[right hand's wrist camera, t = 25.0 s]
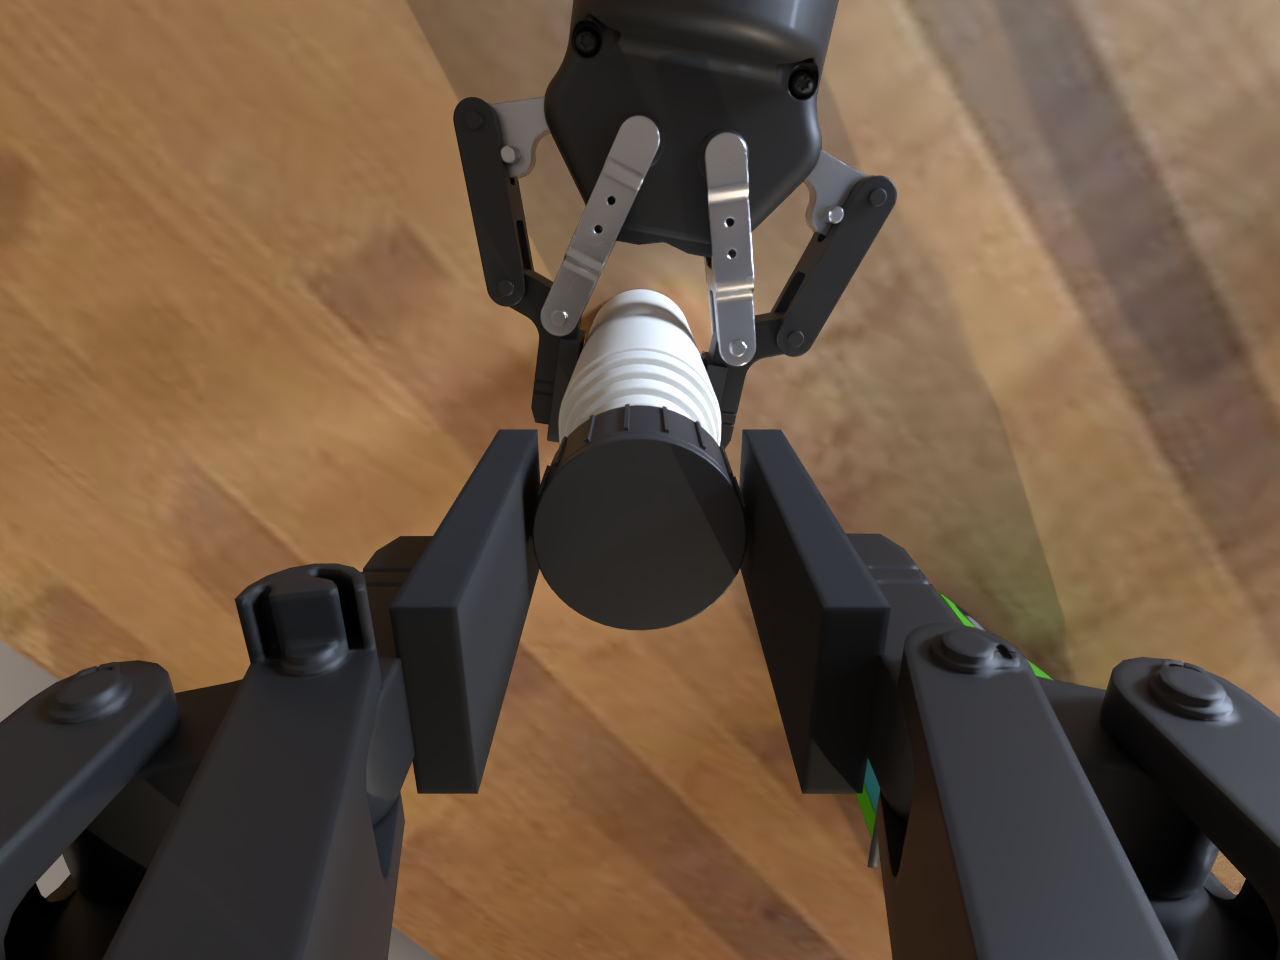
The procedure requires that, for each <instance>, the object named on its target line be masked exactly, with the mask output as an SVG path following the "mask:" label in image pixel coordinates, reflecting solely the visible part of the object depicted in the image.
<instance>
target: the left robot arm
mask: <svg viewBox="0 0 1280 960" xmlns="http://www.w3.org/2000/svg"><path fill="white" fill-rule="evenodd" d="M838 1H839V0H573V9H572V17H571V26H570V35H569V42H568V47H567V51H566V54H565V57H564V60H563V62H562V64H561V66H560V68H559V70H558V72H557V73H556V74H555V76H554V77H553V79H552V80H551V82H550V83H549V85H548V88H547V90H546V93H545V97H539V98H532V99H525V100H518V101H511V102H504V103H497V104H488V103H486V102H485V101H483V100H481V99H479V98H476V97H469V98H465V99H463V100H462V101H461V102H459V104H458V105H457V106H456V108H455V111H454V116H453V120H454V126H455V131H456V136H457V141H458V146H459V151H460V156H461V161H462V166H463V171H464V176H465V181H466V186H467V191H468V196H469V201H470V206H471V211H472V216H473V221H474V226H475V231H476V236H477V241H478V246H479V251H480V256H481V261H482V266H483V271H484V276H485V281H486V286H487V291H488V294H489V296H490V297H491V299H492V300H493V301H494V302H495V303H497V304H499V305H501V306H509V307H511V308H512V309H514V310H516V311H518V312H520V313H521V314H523V315H525V316H527V317H528V318H529V319H531V320H532V321H533V323H534V324H535V325H536V327H537V329H538V332H539V347H538V356H537V364H536V373H535V381H534V391H533V398H532V407H531V408H532V412H533V415H534V419H535V422H536V423H542V424H548V425H549V427H548V436H547V441H552V442H559V424H558V422H559V412H560V407H561V403H562V400H563V397H564V395H565V392H566V390H567V387H568V384H569V382H570V379H571V377H572V374H573V372H574V369H575V367H576V364H577V362H578V359H579V357H580V354H581V351H582V349H583V344H584V337H585V331H583V330H580V324H581V317H582V313H583V311H584V309H585V307H586V305H587V303H588V300H589V298H590V296H591V294H592V292H593V290H594V288H595V285H596V283H597V281H598V279H599V277H600V275H601V272H602V270H603V268H604V266H605V264H606V262H607V260H608V258H609V255H610V253H611V251H612V249H613V247H614V245H615V242H616V241H621V242H627V243H632V244H638V245H640V244H650V243H660V242H665V243H668V244H670V245H672V246H674V247H676V248H678V249H680V250H682V251H684V252H686V253H688V254H694V255H699V256H704V262H705V273H706V281H707V287H708V294H709V305H710V316H711V327H712V339H711V344H710V349H709V352H703V351H702V356H701V359H702V362H703V365H704V367H705V370H706V372H707V375H708V377H709V380H710V383H711V385H712V388H713V390H714V393H715V395H716V398H717V401H718V404H719V408H720V414H721V441H720V446H721V445H722V446H723V448H724V449H725V448H726V446H727V445H728V444H729V442H730V441H731V436H732V432H733V427H734V423H735V419H736V413H737V410H738V406H739V401H740V397H741V392H742V388H743V384H744V379H745V375H746V373H747V371H748V369H749V367H750V366H751V365H752V364H753V363H754V362H756V361H758V360H760V359H762V358H766V357H772V356H777V355H783V354H785V355H787V356H791V357H797V356H800V355H803V354H804V353H806V352H807V351H808V350H809V349H810V347H811V346H812V344H813V343H814V341H815V339H816V337H817V336H818V334H819V332H820V331H821V329H822V327H823V326H824V324H825V322H826V320H827V319H828V317H829V315H830V314H831V312H832V310H833V309H834V307H835V305H836V303H837V302H838V300H839V298H840V297H841V295H842V293H843V292H844V290H845V288H846V286H847V285H848V283H849V281H850V280H851V278H852V276H853V275H854V273H855V271H856V269H857V268H858V266H859V264H860V263H861V261H862V259H863V258H864V256H865V254H866V252H867V251H868V249H869V247H870V246H871V244H872V242H873V241H874V239H875V237H876V235H877V234H878V232H879V230H880V229H881V227H882V225H883V224H884V222H885V220H886V219H887V217H888V215H889V213H890V212H891V210H892V208H893V207H894V205H895V202H896V198H897V191H896V187H895V185H894V183H893V182H892V181H891V180H890V179H889V178H887V177H884V176H867V175H864V174H862V173H861V172H859V171H857V170H855V169H854V168H852V167H850V166H849V165H847V164H845V163H843V162H842V161H840V160H838V159H836V158H835V157H833V156H831V155H830V154H828V153H826V152H824V151H823V150H821V148H822V137H821V131H820V128H819V124H818V119H817V109H816V101H817V93H818V87H819V83H820V79H821V74H822V70H823V66H824V61H825V57H826V53H827V48H828V44H829V40H830V35H831V31H832V27H833V23H834V18H835V14H836V10H837V5H838ZM550 133H551V134H552V137H553V139H554V141H555V143H556V145H557V147H558V149H559V151H560V153H561V155H562V157H563V159H564V161H565V163H566V165H567V167H568V169H569V172H570V174H571V176H572V178H573V180H574V182H575V184H576V186H577V188H578V190H579V192H580V194H581V196H582V198H583V200H584V202H585V205H586V208H585V210H584V212H583V215H582V217H581V219H580V221H579V224H578V226H577V228H576V230H575V233H574V235H573V237H572V240H571V242H570V244H569V246H568V249H567V251H566V254H565V257H564V260H563V262H562V265H561V267H560V269H559V272H558V274H557V276H556V278H555V281H554V282H552V281H551V280H549V279H547V278H545V277H544V276H542V275H540V274H538V273H537V272H535V271H534V268H533V262H532V257H531V251H530V245H529V240H528V234H527V228H526V222H525V217H524V211H523V205H522V199H521V194H520V188H519V182H518V178H522V177H525V176H527V175H528V174H529V173H530V172H531V171H532V170H533V168H534V166H535V161H536V154H535V153H536V147H537V145H538V142H539V141H540V140H541V139H542V138H543V137H544V136H545V135H547V134H550ZM802 182H804V183H805V184H806V186H807V187H808V189H809V193H810V201H809V205H808V207H807V210H806V222H807V225H808V226H809V228H810V229H811V230H812V231H814V232H815V233H814V235H813V237H812V239H811V240H810V242H809V244H808V246H807V248H806V249H805V251H804V253H803V255H802V256H801V258H800V260H799V262H798V264H797V265H796V267H795V269H794V271H793V273H792V274H791V276H790V278H789V280H788V282H787V283H786V285H785V287H784V289H783V291H782V292H781V294H780V296H779V298H778V300H777V301H776V303H775V305H774V307H773V309H772V310H771V312H770V313H766V314H761V315H755V316H754V306H753V290H754V272H753V257H752V241H751V232H752V231H753V230H754V229H755V228H756V227H757V226H758V225H759V224H760V223H761V222H762V221H763V220H764V219H765V218H766V217H767V216H768V215H769V214H770V213H772V212H773V211H774V210H775V209H776V208H777V207H778V206H779V205H780V204H781V203H782V202H783V201H784V200H785V199H786V198H787V197H788V196H789V195H790V194H791V193H792V192H793V191H794V190H795V189H796V188H797V187H798V186H799V185H800V184H801V183H802ZM720 446H719V447H720Z"/></svg>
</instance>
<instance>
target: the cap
mask: <svg viewBox="0 0 1280 960" xmlns="http://www.w3.org/2000/svg"><path fill="white" fill-rule="evenodd" d="M536 498H537V499H539V501H538V504H537V507H536V511H535V514H534V520H533V528H532V536H533V547H534V553H535V557H536V560H537V563H538V566H539V568H540V570H541V572H542V574H543V576H544V578H545V580H546V581H547V583H548V584H549V586H550V587H551V589H552V590H553V591H554V592H555V593H556V594H557V596H558V597H559V598H560V599H561V600H562V601H564V602H565V603H566V604H567V605H568V606H569V607H571V608H572V609H573V610H575V611H576V612H578V613H579V614H581V615H583V616H585V617H587V618H589V619H590V620H593V621H595V622H598V623H600V624H603V625H607V626H610V627H614V628H619V629H626V630H653V629H660V628H665V627H670V626H673V625H676V624H679V623H682V622H684V621H686V620H689V619H691V618H693V617H695V616H697V615H698V614H700V613H702V612H703V611H705V610H706V609H707V608H709V607H710V606H711V605H713V604H714V603H715V602H716V601H717V600H718V599H719V598H720V597H721V596H722V595H723V594H724V593H725V591H726V590H727V589H728V588H729V586H730V585H731V584H732V582H733V580H734V579H735V577H736V575H737V573H738V571H739V569H740V566H741V564H742V561H743V558H744V554H745V550H746V542H747V523H746V518H745V513H744V511H745V510H746V506H745V503H744V500H743V497H742V495H741V492H740V489H739V486H738V483H737V480H736V477H735V476H734V477H733V473H732V470H731V468H730V465H729V462H728V459H727V456H726V453H725V450H724V448H723V446H722V445H721V446H720V447H719V445H718V444H717V442H716V441H715V440H714V438H713V437H712V436H711V435H710V434H709V433H708V432H707V431H706V430H705V429H704V428H702V427H701V425H700V422H698V421H696V422H694V421H693V420H691V419H689V418H688V417H686V416H684V415H682V414H679V413H677V412H675V411H672V410H668V409H667V407H665V406H662V408H661V407H655V406H646V405H634V406H630V404H625V406H623V407H619V408H615V409H611V410H608V411H605V412H602V413H600V414H598V415H596V416H594V414H593V415H591V416H590V418H589V419H588V420H587V421H585V422H584V423H582V424H581V425H579V426H578V427H577V428H576V429H575V430H574V431H573V432H572V433H571V434H569V436H568V437H566V436H564V437H563V439H562V442H561V445H560V447H559V449H558V451H557V452H556V454H555V456H554V458H553V461H552V463H551V465H550V466H548V465H547V468H546V470H545V473H544V476H543V479H542V482H541V485H540V487H539V490H538V493H537V496H536Z"/></svg>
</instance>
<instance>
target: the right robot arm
mask: <svg viewBox="0 0 1280 960" xmlns="http://www.w3.org/2000/svg"><path fill="white" fill-rule="evenodd" d="M539 487H540V469H539V452H538V434H537V430H499V431H498V432H497V434H496V436H495V437H494V439H493V440H492V442H491V444H490V445H489V447H488V448H487V450H486V452H485V453H484V455H483V457H482V458H481V460H480V461H479V463H478V465H477V466H476V468H475V469H474V471H473V473H472V474H471V476H470V478H469V479H468V481H467V482H466V484H465V486H464V487H463V489H462V490H461V492H460V494H459V495H458V497H457V498H456V500H455V502H454V503H453V505H452V507H451V508H450V510H449V511H448V513H447V515H446V516H445V518H444V519H443V521H442V523H441V524H440V526H439V527H438V529H437V531H436V532H435V534H434V536H400V537H398V538H397V539H395V540H393V541H392V542H390V543H389V544H387V545H385V546H384V547H382V548H380V549H379V550H377V551H376V552H375V553H374V555H373V556H372V557H371V559H370V560H369V561H368V563H367V564H366V565H365V567H364V568H363V572H359V571H358V570H357V569H355V568H354V567H349V566H345V565H341V564H310V565H304V566H299V567H293V568H289V569H286V570H283V571H280V572H277V573H274V574H271V575H268V576H266V577H264V578H262V579H260V580H258V581H257V582H255V583H253V584H251V585H249V586H248V587H246V588H245V589H244V590H243V591H242V592H241V593H240V594H239V595H238V596H237V597H236V598H235V602H236V606H237V610H238V614H239V618H240V622H241V626H242V630H243V634H244V638H245V642H246V646H247V650H248V654H249V658H250V662H251V664H250V666H249V668H248V670H247V672H246V674H245V676H244V678H243V679H242V680H238V681H234V682H230V683H225V684H220V685H215V686H210V687H205V688H200V689H195V690H189V691H184V692H179V693H174V690H173V687H172V684H171V680H170V677H169V674H168V672H167V671H166V670H165V669H164V668H162V667H161V666H160V665H159V664H157V663H151V662H145V661H139V660H137V661H126V662H112V663H107V664H102V665H100V666H99V667H97V666H94V667H91V668H88V669H84V670H82V671H79V672H78V673H77V674H75V675H73V676H70V677H68V678H66V679H63V680H61V681H59V682H56V683H55V684H53V685H51V686H50V687H48V688H47V689H45V690H43V691H42V692H40V693H39V694H37V695H36V696H34V697H32V698H31V699H30V700H28V701H27V702H26V703H25V704H23V705H22V706H21V707H20V708H18V709H17V710H16V711H14V712H13V713H12V714H11V715H9V716H8V717H7V718H6V719H4V720H3V721H2V722H0V960H388V952H389V944H390V936H391V928H392V920H393V912H394V904H395V896H396V888H397V880H398V872H399V864H400V856H401V848H402V840H403V832H404V824H405V819H404V812H403V805H402V799H401V793H400V790H401V787H402V785H403V782H404V780H405V778H406V775H407V773H408V770H409V768H410V765H411V763H412V760H413V767H414V773H415V779H416V786H417V792H418V794H478V791H479V787H480V783H481V780H482V776H483V772H484V769H485V765H486V761H487V758H488V754H489V750H490V747H491V743H492V740H493V736H494V732H495V729H496V725H497V721H498V718H499V714H500V710H501V707H502V703H503V700H504V696H505V692H506V689H507V685H508V681H509V678H510V674H511V670H512V667H513V663H514V660H515V656H516V652H517V649H518V645H519V641H520V638H521V634H522V630H523V627H524V623H525V619H526V616H527V612H528V609H529V605H530V601H531V598H532V594H533V590H534V587H535V583H536V579H537V576H538V572H539V569H540V568H539V566H538V563H537V560H536V557H535V553H534V547H533V536H532V528H533V520H534V514H535V511H536V507H537V504H538V501H539V499H537V498H536V496H537V493H538V490H539ZM739 489H740V492H741V495H742V497H743V500H744V503H745V506H746V510H745V511H744V513H745V518H746V523H747V542H746V550H745V554H744V558H743V561H742V564H741V566H740V569H741V572H742V576H743V579H744V583H745V587H746V590H747V594H748V598H749V601H750V605H751V609H752V612H753V616H754V619H755V623H756V627H757V630H758V634H759V638H760V641H761V645H762V649H763V652H764V656H765V659H766V663H767V667H768V670H769V674H770V678H771V681H772V685H773V689H774V692H775V696H776V700H777V703H778V707H779V710H780V714H781V718H782V721H783V725H784V729H785V732H786V736H787V740H788V743H789V747H790V750H791V754H792V758H793V761H794V765H795V769H796V772H797V776H798V780H799V783H800V787H801V791H802V794H862V792H863V786H864V779H865V773H866V767H867V760H868V759H869V762H870V764H871V767H872V769H873V771H874V774H875V776H876V779H877V781H878V784H879V786H880V793H879V799H878V805H877V811H876V817H875V823H874V829H873V835H872V841H871V847H870V853H869V860H868V867H871V868H876V869H877V866H878V860H879V855H880V862H881V870H882V878H883V886H884V894H885V902H886V910H887V918H888V926H889V934H890V942H891V950H892V958H893V960H1280V718H1279V717H1278V716H1277V715H1275V714H1274V713H1273V712H1272V711H1270V710H1269V709H1268V708H1266V707H1265V706H1264V705H1263V704H1261V703H1260V702H1259V701H1257V700H1256V699H1255V698H1254V697H1252V696H1251V695H1250V694H1248V693H1246V692H1245V691H1243V690H1242V689H1240V688H1239V687H1237V686H1235V685H1234V684H1232V683H1231V682H1229V681H1227V680H1226V679H1224V678H1221V677H1219V676H1217V675H1214V674H1212V673H1210V672H1207V671H1205V670H1204V669H1202V668H1200V667H1198V666H1195V665H1192V664H1188V663H1184V664H1183V663H1181V661H1176V660H1171V659H1158V658H1147V657H1140V658H1134V659H1128V660H1123V661H1122V662H1121V663H1119V664H1118V665H1117V666H1116V667H1114V668H1113V670H1112V674H1111V677H1110V680H1109V684H1108V687H1107V690H1102V689H1097V688H1092V687H1087V686H1082V685H1076V684H1071V683H1066V682H1061V681H1056V680H1051V679H1047V678H1043V677H1039V676H1036V675H1035V673H1034V671H1033V669H1032V667H1031V665H1030V663H1029V662H1028V660H1027V659H1026V658H1025V657H1024V656H1023V654H1022V653H1021V652H1020V651H1019V650H1018V649H1017V648H1016V647H1014V646H1013V645H1011V644H1010V643H1008V642H1007V641H1005V640H1004V639H1002V638H1001V637H999V636H996V635H994V634H991V633H989V632H986V631H984V630H981V629H979V628H976V627H971V626H966V625H962V624H961V623H960V621H959V620H958V619H957V617H956V616H955V615H954V613H953V612H952V611H951V610H950V608H949V607H948V606H947V604H946V603H945V602H944V600H943V599H942V598H941V596H940V595H939V594H938V592H937V591H936V590H935V589H934V587H933V586H932V585H931V584H928V579H927V578H926V577H925V575H924V574H923V573H922V572H921V570H920V569H917V565H916V564H915V562H914V561H913V560H912V558H911V557H910V556H909V554H908V553H907V552H906V551H905V549H904V548H902V547H900V546H899V545H897V544H896V543H894V542H892V541H891V540H889V539H887V538H886V537H884V536H883V535H881V534H845V532H844V531H843V529H842V527H841V526H840V524H839V523H838V521H837V519H836V518H835V516H834V515H833V513H832V511H831V510H830V508H829V506H828V505H827V503H826V502H825V500H824V498H823V497H822V495H821V494H820V492H819V490H818V489H817V487H816V486H815V484H814V482H813V481H812V479H811V477H810V476H809V474H808V473H807V471H806V469H805V468H804V466H803V465H802V463H801V461H800V460H799V458H798V457H797V455H796V453H795V452H794V450H793V448H792V447H791V445H790V444H789V442H788V440H787V439H786V437H785V436H784V434H783V432H782V431H781V430H743V434H742V452H741V469H740V487H739ZM1219 850H1220V851H1221V852H1222V853H1223V854H1224V856H1225V857H1226V858H1227V859H1228V860H1229V861H1230V862H1231V863H1232V864H1233V865H1234V866H1235V867H1236V868H1237V870H1238V871H1239V872H1240V873H1241V874H1242V875H1243V876H1244V877H1245V878H1246V880H1245V882H1244V885H1243V887H1242V889H1241V891H1240V893H1239V894H1238V895H1237V896H1236V895H1234V894H1233V893H1232V892H1230V891H1229V890H1228V889H1227V888H1226V887H1225V886H1224V885H1223V884H1222V883H1221V882H1220V881H1219V880H1218V879H1217V878H1216V877H1215V875H1214V874H1213V873H1212V872H1211V869H1212V866H1213V864H1214V862H1215V859H1216V857H1217V854H1218V852H1219ZM62 854H63V857H64V859H65V862H66V864H67V866H68V869H69V871H70V873H71V874H70V875H69V876H68V877H67V879H66V880H65V881H64V882H63V883H62V884H61V886H60V887H59V888H57V889H56V890H55V891H54V892H52V893H51V894H50V895H49V896H48V897H46V898H44V897H43V896H42V895H41V893H40V891H39V889H38V887H37V885H36V882H37V880H38V879H39V878H40V877H41V876H42V875H43V874H44V873H45V872H46V871H47V870H48V869H49V867H50V866H51V865H52V864H53V863H54V862H55V861H56V860H57V859H58V858H59V857H60V856H61V855H62Z"/></svg>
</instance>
